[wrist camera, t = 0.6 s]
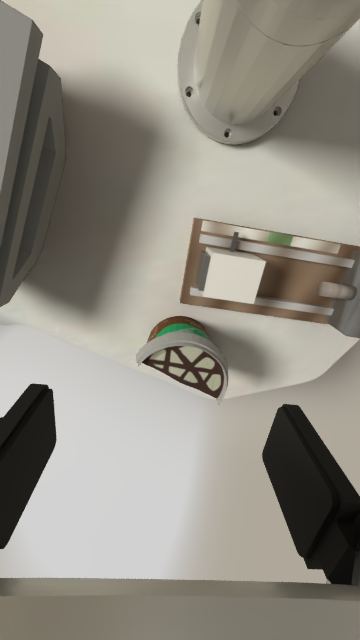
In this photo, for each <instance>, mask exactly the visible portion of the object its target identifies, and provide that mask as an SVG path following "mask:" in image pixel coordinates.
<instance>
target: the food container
mask: <svg viewBox="0 0 360 640" xmlns="http://www.w3.org/2000/svg"><path fill="white" fill-rule="evenodd" d="M136 362H137V363H138V367H139V365H140V364H141V363H144V364H145V365H148V366H151V367H153V368H155V369H157V370H159V371H161V372H163V373H165V374H166V375H168V376H170V377H171V378H173V379H175V380H177V381H178V382H180V383H182V384H185V385H187V386H190V387H193V388H196V389H198V390H200V391H202V392H204V393H206V394H209V395H211V396H213V397H215V398H216V400H217V402H218V404H220V402H221V401H222V399H223V397H224V395H225V392H226V389H227V386H228V366H227V362H226V359H225V357H224V355H223V353H222V352H221V351H220V349H219V348H218V347H217V346H216V345H215V344H214V343H212V342H211V341H210V339H209V337H208V334H207V332H206V330H205V328H204V327H203V326H202V325H201V324H200V323H199V322H198V321H196V320H194V319H192V318H189V317H185V316H175V317H170V318H167V319H165V320H163V321H161V322H160V323H158V324H157V325H156V326H155V327H154V329H153V330H152V331H151V334H150V336H149V338H148V341H147V343H146V344H145V345H144V346H143V347H142V348H141V349H140V350H139V351H138V353H137V354H136Z"/></svg>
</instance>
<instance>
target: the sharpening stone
mask: <svg viewBox="0 0 360 640" xmlns="http://www.w3.org/2000/svg"><path fill="white" fill-rule="evenodd" d="M42 38H43V34H42V32H41V31H40V29H39V28H38V27H37V25H36V24H35V23H34V21H33V20H32V19H30V18H29V17H27V16H25V15H24V14H22V13H21V12H19V11H17V10H16V9H14V8H12V7H11V6H9V5H7V4H6V3H4V2H2V1H1V0H0V307H1V306H3V305H5V304H7V303H8V302H9V301H10V300H11V298H12V297H13V295H14V294H15V292H16V291H17V289H18V287H19V286H20V284H21V283H22V281H23V280H24V278H25V277H26V275H27V273H28V272H29V270H30V269H31V267H32V266H33V264H34V263H35V261H36V259H37V258H38V256H39V255H40V253H41V252H42V249H43V245H44V241H45V237H46V233H47V230H48V226H49V222H50V218H51V214H52V210H53V207H54V203H55V199H56V195H57V191H58V188H59V184H60V180H61V176H62V172H63V168H64V165H65V161H66V148H65V133H64V119H63V104H62V90H61V78H60V77H59V76H58V75H57V73H56V72H55V71H54V70H53V69H52V68H51V66H50V65H48V64H46V63H44V62H43V61H41V60H39V59H38V58H39V53H40V48H41V43H42Z"/></svg>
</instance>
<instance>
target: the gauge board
mask: <svg viewBox="0 0 360 640" xmlns="http://www.w3.org/2000/svg"><path fill="white" fill-rule="evenodd" d="M234 232H239V234H238V238H237V242H236V247H235V251H237V252H243V253H249V254H253V255H255V256H257V257H259V258H261V259H263V260H264V261H266V264H265V267H264V270H263V274H262V277H261V281H260V284H259V287H258V291H257V294H256V298H255V301H254V304H250V303H243V302H236V301H229V300H222V299H215V298H208V297H203V294H202V292H201V291H199V290H198V287H197V284H196V277H197V271H198V266H199V261H200V256H201V250H203V251H206V247H213V248H219V249H225V250H230V247H231V243H232V239H233V235H234ZM180 303H183V304H190V305H197V306H204V307H211V308H218V309H225V310H232V311H240V312H247V313H254V314H261V315H268V316H275V317H282V318H289V319H296V320H303V321H310V322H317V323H324V324H330V325H332V326H333V327H334V328H336V329H337V330H338V331H340V332H341V333H343V334H344V335H345V336H350V337H357V338H360V247H359V246H353V245H347V244H342V243H336V242H330V241H324V240H319V239H313V238H307V237H301V236H296V235H290V234H284V233H279V232H273V231H267V230H261V229H256V228H250V227H244V226H238V225H233V224H227V223H221V222H216V221H210V220H204V219H198V218H194V220H193V226H192V232H191V238H190V244H189V250H188V256H187V261H186V267H185V273H184V279H183V285H182V291H181V297H180Z"/></svg>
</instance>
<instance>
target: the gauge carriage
mask: <svg viewBox="0 0 360 640" xmlns="http://www.w3.org/2000/svg"><path fill="white" fill-rule="evenodd" d="M238 234H239V232H234V235H233V239H232V243H231V247H230V250H225V249H219V248H213V247H206V251H203V250H201V256H200V261H199V266H198V271H197V277H196V284H197V287H198V290H199V291H201V292H202V294H203V297H208V298H215V299H222V300H229V301H236V302H243V303H250V304H254V301H255V298H256V294H257V291H258V287H259V284H260V281H261V277H262V274H263V270H264V267H265V264H266V261H264V260H263V259H261V258H259V257H257V256H255V255H253V254H249V253H243V252H237V251H235V247H236V242H237V238H238Z"/></svg>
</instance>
